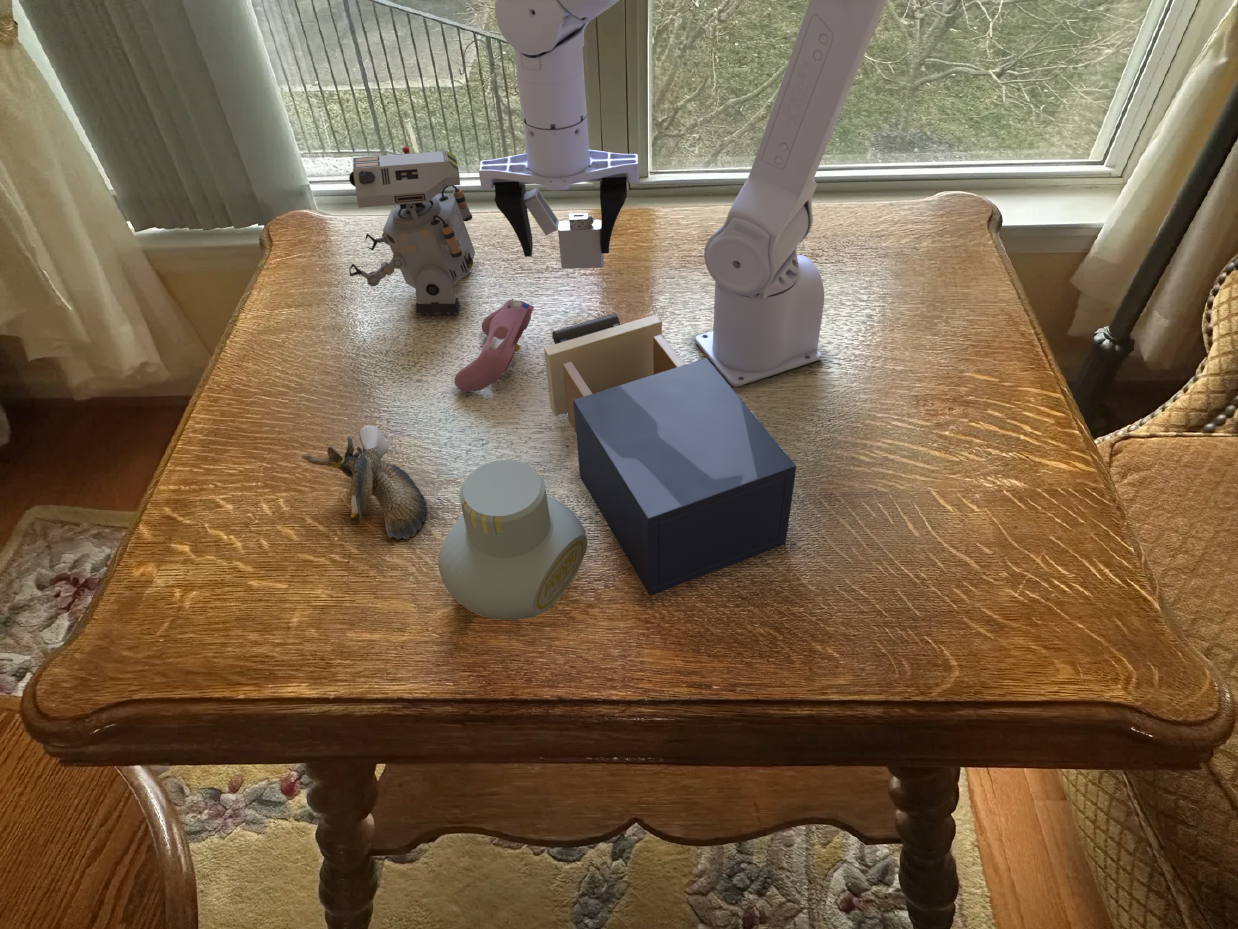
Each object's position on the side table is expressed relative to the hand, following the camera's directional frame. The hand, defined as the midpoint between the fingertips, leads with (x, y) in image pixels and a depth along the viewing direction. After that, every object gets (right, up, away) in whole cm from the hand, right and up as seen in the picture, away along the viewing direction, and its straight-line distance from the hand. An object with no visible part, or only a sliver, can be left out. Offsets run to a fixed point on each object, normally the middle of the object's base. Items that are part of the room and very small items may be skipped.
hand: (566, 249), depth 92 cm
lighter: (0, -1, +1) cm, 2 cm away
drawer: (+6, -17, -11) cm, 21 cm away
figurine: (-15, -3, +6) cm, 16 cm away
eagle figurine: (-15, -25, -15) cm, 33 cm away
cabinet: (+10, -25, -17) cm, 32 cm away
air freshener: (-2, -30, -21) cm, 37 cm away
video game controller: (-6, -12, -3) cm, 14 cm away
